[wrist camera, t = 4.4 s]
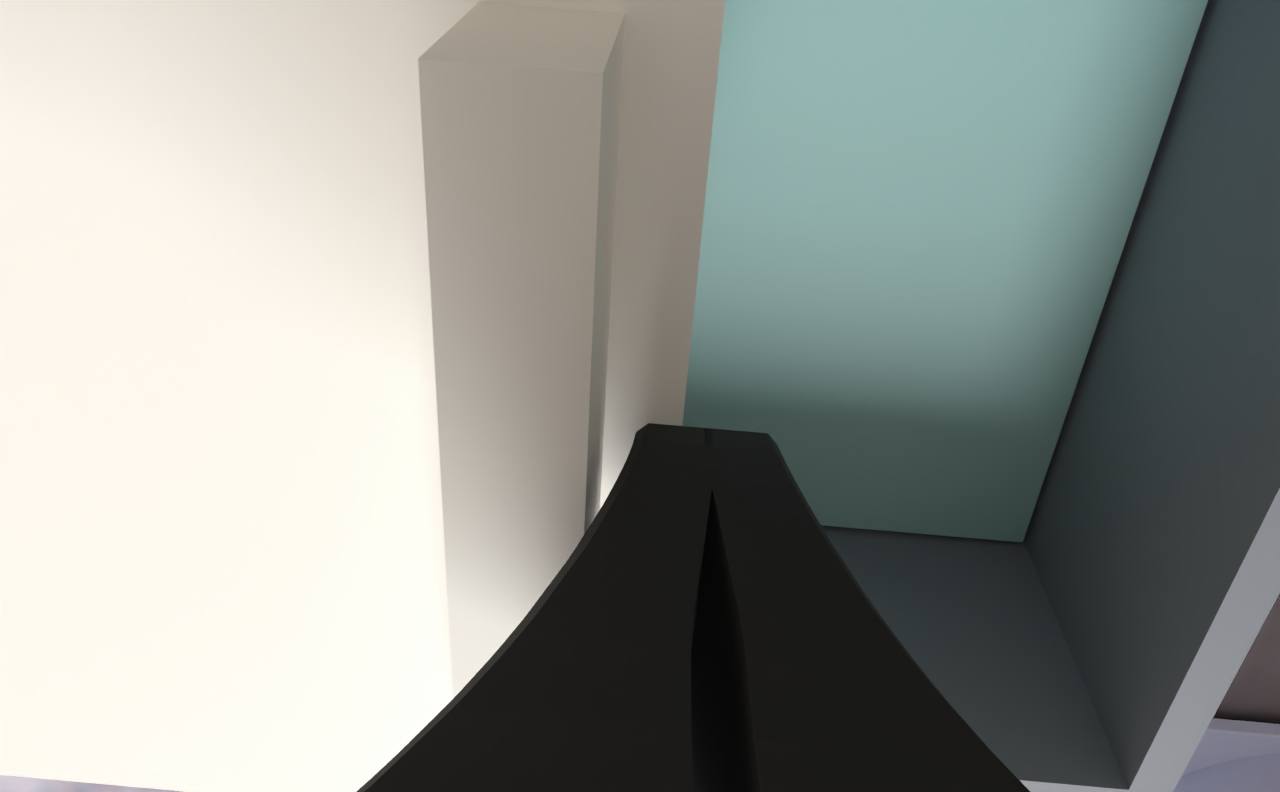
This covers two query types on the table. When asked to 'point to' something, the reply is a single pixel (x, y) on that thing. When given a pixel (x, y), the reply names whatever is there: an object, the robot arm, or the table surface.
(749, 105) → the mailer box
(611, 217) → the lid
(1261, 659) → the table surface
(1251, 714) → the table surface
